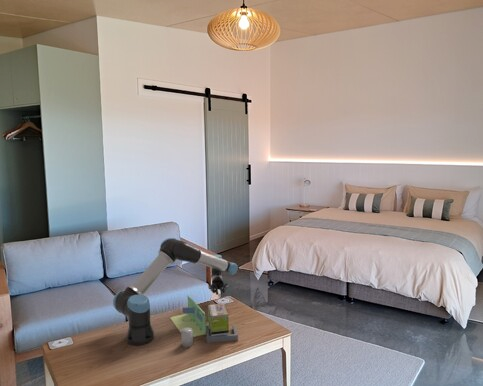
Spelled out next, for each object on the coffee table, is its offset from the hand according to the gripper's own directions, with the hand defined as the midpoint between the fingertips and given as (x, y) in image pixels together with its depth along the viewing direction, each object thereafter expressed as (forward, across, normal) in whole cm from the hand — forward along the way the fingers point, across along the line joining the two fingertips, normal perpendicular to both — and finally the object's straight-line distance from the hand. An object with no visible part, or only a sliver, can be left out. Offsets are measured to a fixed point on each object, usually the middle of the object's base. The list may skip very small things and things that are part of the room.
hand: (219, 295), depth 243 cm
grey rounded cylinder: (+30, +19, -14) cm, 38 cm away
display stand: (+8, +20, -15) cm, 26 cm away
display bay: (+23, 0, -14) cm, 27 cm away
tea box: (+21, +2, -14) cm, 25 cm away
